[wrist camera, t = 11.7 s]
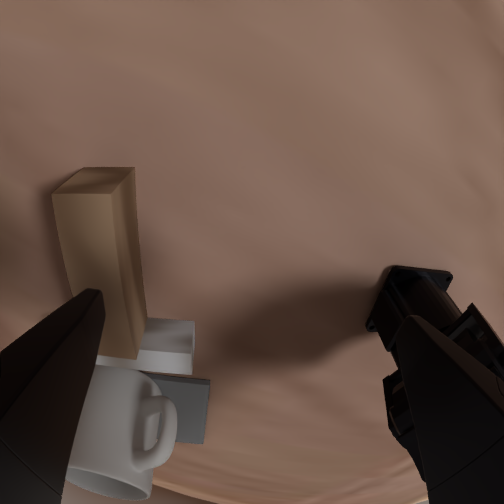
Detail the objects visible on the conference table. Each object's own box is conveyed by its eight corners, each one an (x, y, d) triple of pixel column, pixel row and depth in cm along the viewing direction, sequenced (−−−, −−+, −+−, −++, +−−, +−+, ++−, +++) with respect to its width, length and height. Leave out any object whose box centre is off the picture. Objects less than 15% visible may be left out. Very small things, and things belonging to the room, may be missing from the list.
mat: (210, 380, 29) (210, 385, 28) (203, 440, 36) (203, 444, 35) (62, 357, 27) (60, 361, 26) (90, 423, 34) (89, 426, 33)
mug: (124, 415, 31) (109, 500, 22) (66, 373, 27) (37, 465, 18) (208, 390, 29) (206, 496, 19) (147, 337, 25) (122, 461, 15)
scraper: (196, 168, 19) (186, 196, 15) (194, 341, 26) (191, 385, 22) (37, 168, 18) (0, 194, 14) (74, 329, 25) (57, 367, 21)
